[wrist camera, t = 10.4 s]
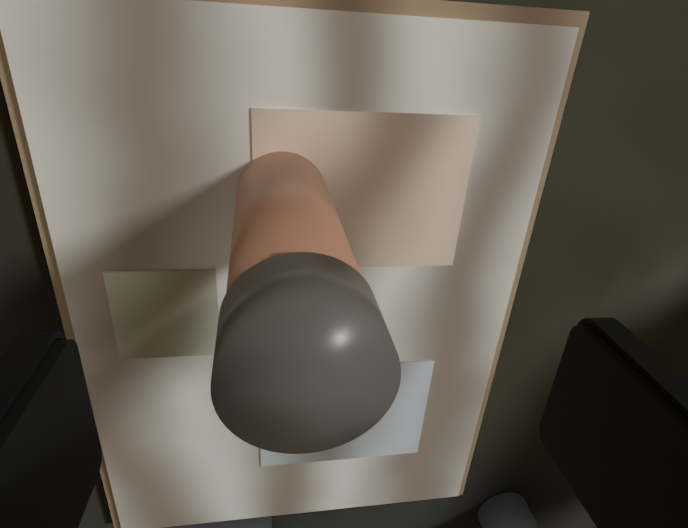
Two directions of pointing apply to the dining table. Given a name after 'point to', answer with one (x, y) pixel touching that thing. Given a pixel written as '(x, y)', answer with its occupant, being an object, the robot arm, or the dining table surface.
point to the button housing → (234, 523)
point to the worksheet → (219, 208)
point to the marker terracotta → (297, 319)
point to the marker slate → (506, 512)
